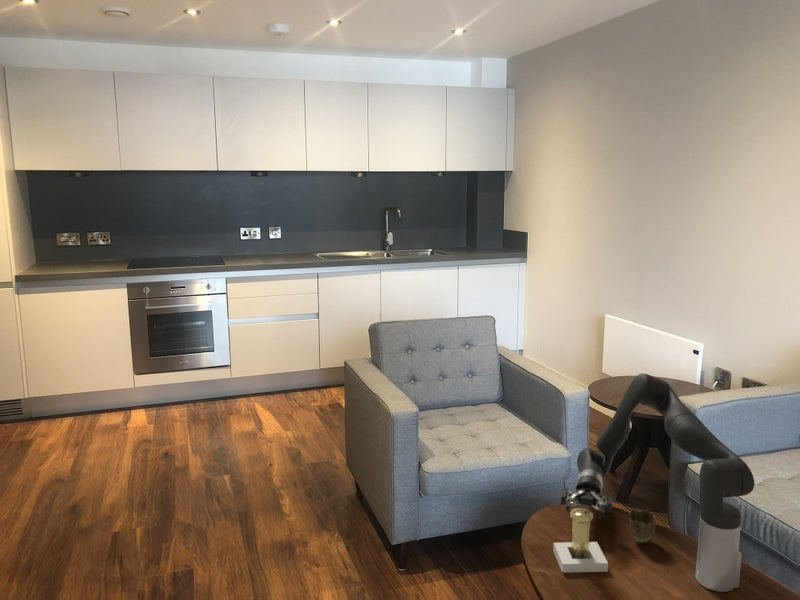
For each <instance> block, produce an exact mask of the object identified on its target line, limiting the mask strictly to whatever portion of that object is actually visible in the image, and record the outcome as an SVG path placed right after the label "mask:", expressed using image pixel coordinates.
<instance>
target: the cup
mask: <svg viewBox="0 0 800 600" xmlns="http://www.w3.org/2000/svg"><path fill="white" fill-rule="evenodd" d="M657 519H658V516H656V514H653V512H650V511H649V509H646V510H644V509H640V511H637V509H631V510H630V511H629V513H628V521H629V529H630V532H631V534H632V535H633V536H634V540H635V541H636V542H637V543H639V544H647V543H648V541H649V539H650V538H651V537H652V536H653V535H654V533H655V529H656V525H657Z"/></svg>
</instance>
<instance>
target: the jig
mask: <svg viewBox="0 0 800 600" xmlns="http://www.w3.org/2000/svg"><path fill="white" fill-rule="evenodd" d="M553 554H554V556H555V558H556V561H557V563H558V565H559V568H560V570H561V573H562V572H563V573H564V574H565V573H567V574H568V573H598V572H599V573H603V572H607V573H608V571H609V563H608V560H607V558H606V556H605V554H604V553H603V550H602V549H601V547H600V545H599V544H598V542H597V541H589V554H588V559H572V541H571V542H570V541H569V542H568V541H567V542H565V541H564V542H553Z"/></svg>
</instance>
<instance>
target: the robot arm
mask: <svg viewBox="0 0 800 600" xmlns="http://www.w3.org/2000/svg"><path fill="white" fill-rule="evenodd" d="M639 404H640V405H643V406H646V407H648V408H651V409H653V410H656V411H657V412H658V413H659V414H660V415H661V416H662V417H663V418H664V421H663V422H664V424H663V425H664V430H665V431H666V434H667V435H668V437H669V438H670V439H671V440H672V441H673V443H674V444H675V445H676V446H677V447H678V448H679V449H680V450H681V451H684V452H685V453H687V454H689V455H691V456H693V457H696V458H697V459H700V460H701V461H703V463H702V464H701V465H700V470H699V492H698V493H699V495H698V497H699V498H698V501H699V502H698V503H699V510H700V515H699V516H700V517H699V527H698V541H697V553H696V555H697V556H696V564H695V565H696V567H695V579H696V581H697V582H698V583H699V584H700V585H701V587H702V586H703V587H704V588H706V589H708V590H710V591H714V592H719V593H725V592H730V591H731V592H732V590H734V589H736V588H737V589H738V588H740V579H741V578H740V577H741V576H740V575H741V567H742V555H743V554H742V552H741V551H740V550H739V549H740V547H739V546H740V537H741V526H742V525H741V523H742V513H741V512H740V510H739V509H738V508H737V507H735V506H734V505H732V504H729V503H727V502H724V498H735V497H736V498H738V497H745V496H747V495H749V494H750V493H752V492H753V490H754V488H755V478H754V475H753V472H752V470H751V469H750V467H749V466H748V464H747V463H746V462H745V461H744V460H743V459H742V458H741V457H740V456H738V455H737V454H736V453H734V451H732V450H731V449H730V448H728V446H727V445H725V444H724V443H722V441H720V439H718V438H717V436H715V434H714V433H712V432H711V431H710V430H709V428H707V426H706V425H705V424H704V423H703V422H702V421H701V420H700V418H698V417H697V415H695V414H694V413H693V412H692V411H691V409H690V408H688V407H687V405H686V404H685V403H684V402H682V400H681V399H680V397H679V396H678V395H677V394H676V392H675V391H674V389H673V388H672V387H671V385H670V384H669V383H668V382H667V381H666V380H663V379H661V378H659V377H656V376H653V375H650V374H647V373H639V374H637V375H636V376H635V377H634V378H633V380H632V381H631V382H630V384H629V385H628V387H627V389H626V391H625V392H624V395H623V397H622V399H621V401H620V402H619V405H618V407H617V409H616V410H615V412H614V415H613V417H612V419H611V420H610V421H609V423H608V424H607V426H606V427H605V429H604V430H603V431H602V433H601V434H600V435H599V436H598V438H597V439H596V442H595V445H596V448H597V449H598V450H599V451H600V452H601V453H602V454H603V455H602V454H600V453H598V452H597V451H595V450H594V449H592V448H589V447H587V448H583V449H582V450H580V452H579V453H578V455H577V459H576V465H577V469H578V471H579V475H578V477H577V480H576V483H575V484H576V485H575V489H574V490H573V491H570V490H569V489H568V488H567V487H565V488H564V487H563V490H562V491H561V495H560V505H562V506H565V510H564V511H567V513H568V514H570V512H571V510H572V507H573V506H574V507H577V506H580V505H583V506H585V505H586V506H589V507H592V508H594V509H595V510H598V519H602V517H603V518H604V517H605V512H607V513H612V511H613V509H612V506H613V496H612V494H607V496H603V494H602V492H603V479H604V478H605V477H607V476H608V474H609V471H611V467H612V463H613V460H614V459H615V457H616V455H617V453H618V452H619V450H620V449H621V448H622V446H623V445H624V444H625V442H626V441H627V439H628V437H629V435H630V430H631V417H632V414H633V411H634V410H635V409H636V407H637V406H638V405H639Z"/></svg>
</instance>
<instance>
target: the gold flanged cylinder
mask: <svg viewBox="0 0 800 600" xmlns="http://www.w3.org/2000/svg"><path fill="white" fill-rule="evenodd" d="M569 514H570V519H571V520H572V530H571V531H572V533H571V535H572V536H571V542H572V555H571V557H572V559H589V557H588V554H589V542H590V527H591V524H590V523H591V522H592V521H593V519H594V514H593V512H592V511H591V510H589V509H587V508H582V507H581V508H580V507H576V508H573V509H571V510H570V513H569Z"/></svg>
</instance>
